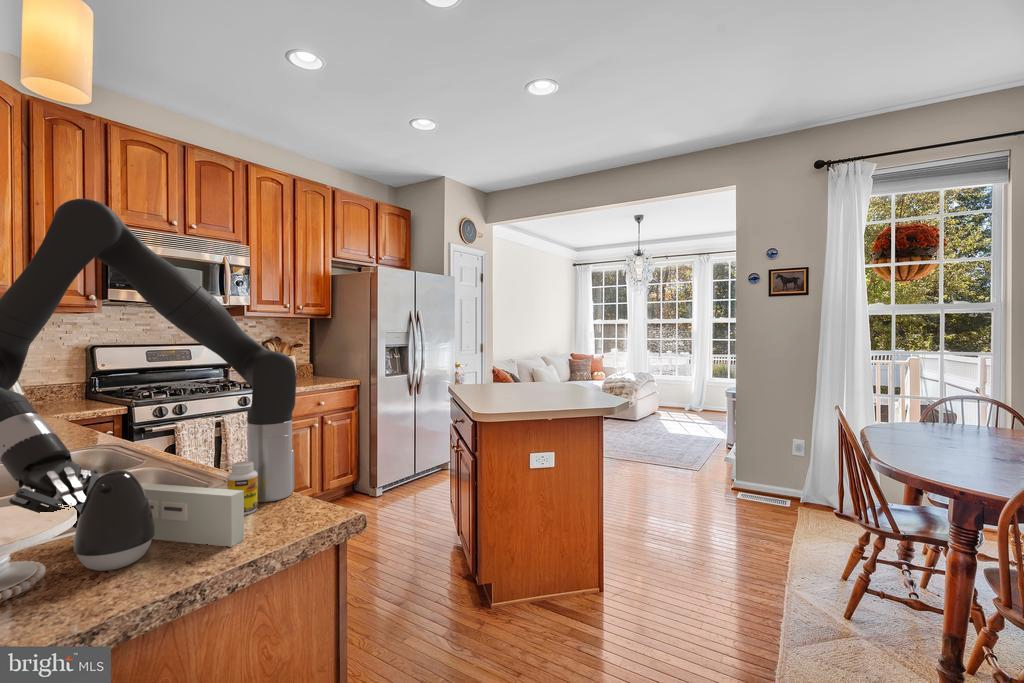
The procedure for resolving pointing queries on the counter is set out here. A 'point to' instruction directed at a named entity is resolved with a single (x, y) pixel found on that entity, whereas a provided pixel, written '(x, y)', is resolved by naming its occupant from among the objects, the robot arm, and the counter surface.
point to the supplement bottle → (244, 484)
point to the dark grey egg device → (114, 523)
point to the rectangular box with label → (196, 514)
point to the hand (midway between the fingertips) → (88, 525)
